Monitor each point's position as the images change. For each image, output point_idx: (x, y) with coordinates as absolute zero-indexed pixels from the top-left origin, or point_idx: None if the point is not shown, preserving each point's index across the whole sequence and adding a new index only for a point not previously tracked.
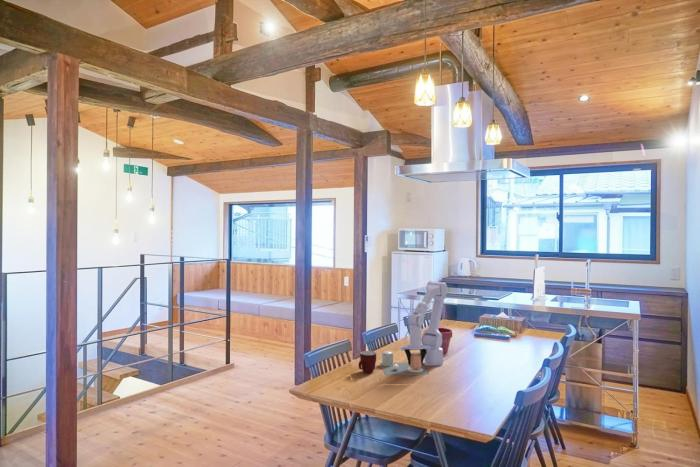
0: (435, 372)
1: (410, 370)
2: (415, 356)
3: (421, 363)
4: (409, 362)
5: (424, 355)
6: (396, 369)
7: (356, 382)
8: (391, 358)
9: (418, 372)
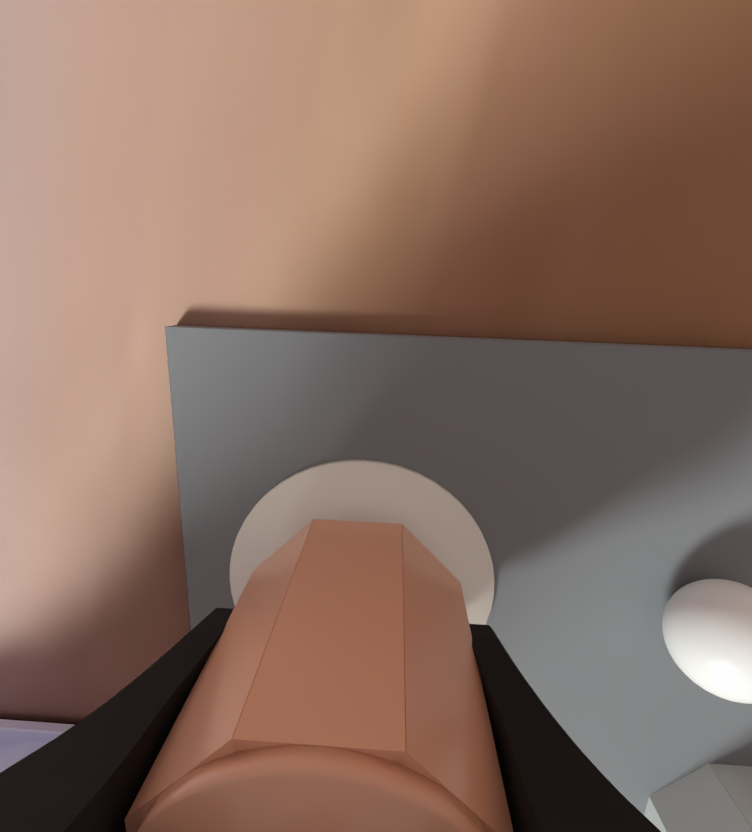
0: (55, 472)
1: (460, 532)
2: (359, 744)
3: (223, 621)
4: (500, 654)
5: (7, 781)
6: (710, 579)
7: None
8: None
9: (339, 443)
